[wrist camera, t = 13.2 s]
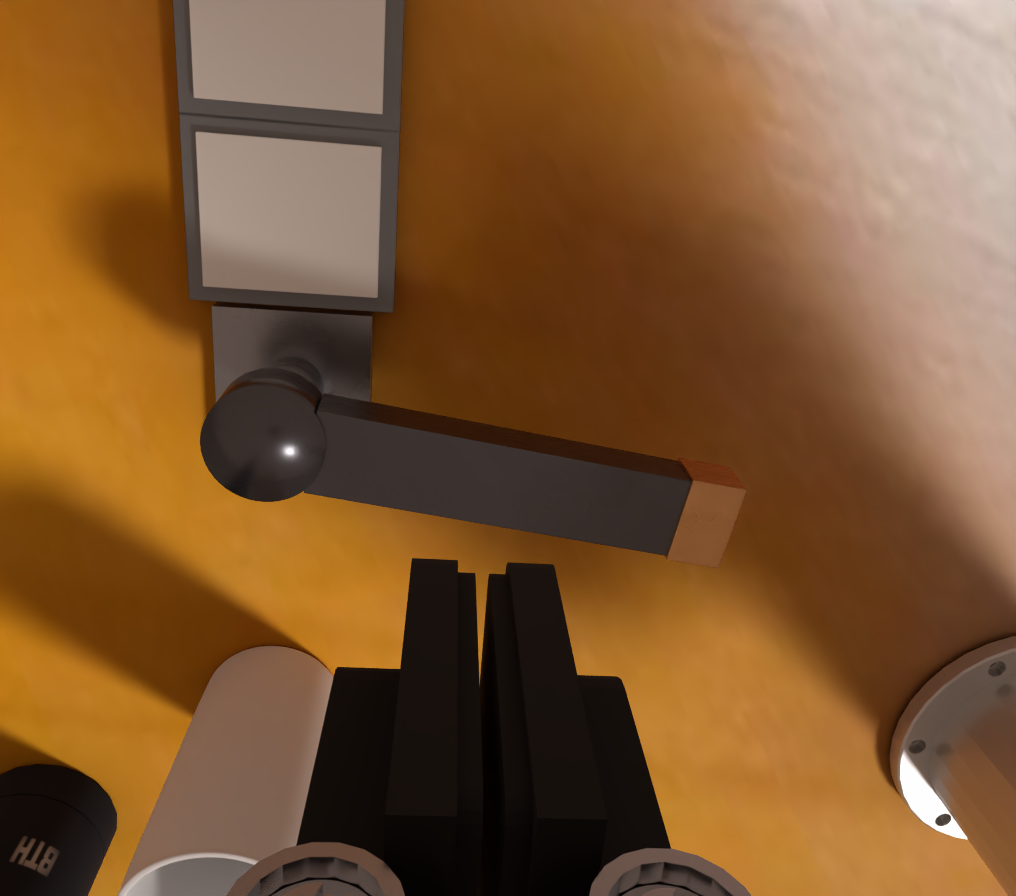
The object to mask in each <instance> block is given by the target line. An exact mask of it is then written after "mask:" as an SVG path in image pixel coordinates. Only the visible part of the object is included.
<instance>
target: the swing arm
mask: <svg viewBox="0 0 1016 896" xmlns="http://www.w3.org/2000/svg"><path fill="white" fill-rule="evenodd" d="M200 445H201V452H202V456H203V459H204V461H205V464H206V466H207V468H208V469H209V471H210V472H211V474H212V475H213V476H214V478H215V479H216V480H217V481H218V482H219V483H220V484H221V485H223V486H224V487H225V488H226V489H228V490H229V491H231V492H233V493H235V494H237V495H239V496H241V497H244V498H247V499H250V500H255V501H262V502H273V501H280V500H284V499H288V498H291V497H293V496H295V495H297V494H299V493H301V492H302V491H304V493H308V494H314V495H320V496H325V497H331V498H337V499H343V500H348V501H354V502H360V503H366V504H371V505H377V506H383V507H389V508H394V509H400V510H406V511H412V512H418V513H423V514H429V515H435V516H441V517H446V518H452V519H458V520H464V521H469V522H475V523H481V524H487V525H492V526H498V527H504V528H510V529H516V530H521V531H527V532H533V533H539V534H544V535H550V536H556V537H562V538H567V539H573V540H579V541H585V542H590V543H596V544H602V545H608V546H614V547H619V548H625V549H631V550H637V551H642V552H648V553H654V554H660V555H665V557H666V559H667V560H672V561H678V562H684V563H690V564H696V565H701V566H707V567H713V568H719V565H720V563H721V560H722V557H723V554H724V552H725V549H726V546H727V544H728V541H729V538H730V535H731V533H732V530H733V527H734V524H735V522H736V519H737V516H738V513H739V511H740V508H741V505H742V503H743V500H744V497H745V494H746V492H747V490H746V488H745V487H744V486H743V484H742V483H741V482H740V481H739V479H738V478H737V477H736V475H735V474H734V473H733V472H732V470H731V469H730V468H729V467H725V466H719V465H714V464H709V463H704V462H699V461H693V460H688V459H683V458H678V461H675V460H670V459H665V458H659V457H654V456H649V455H644V454H639V453H633V452H628V451H623V450H618V449H612V448H607V447H602V446H597V445H592V444H586V443H581V442H576V441H571V440H566V439H560V438H555V437H550V436H545V435H540V434H534V433H529V432H524V431H519V430H513V429H508V428H503V427H498V426H493V425H487V424H482V423H477V422H472V421H467V420H461V419H456V418H451V417H446V416H441V415H435V414H430V413H425V412H420V411H414V410H409V409H404V408H399V407H394V406H388V405H383V404H378V403H373V402H368V401H362V400H357V399H352V398H347V397H341V396H336V395H331V394H326V393H324V394H322V393H321V392H320V391H319V389H318V388H317V387H316V386H315V385H314V384H312V383H311V382H310V381H309V380H307V379H306V378H304V377H302V376H300V375H299V374H296V373H294V372H291V371H288V370H284V369H277V368H263V369H257V370H253V371H250V372H248V373H245V374H243V375H242V376H240V377H238V378H237V379H235V380H234V381H233V382H232V383H231V384H230V385H229V386H228V387H227V388H226V390H225V391H224V392H223V394H222V395H221V397H220V398H219V399H218V401H217V402H216V404H215V405H214V406H213V408H212V409H211V411H210V412H209V413H208V415H207V417H206V419H205V421H204V423H203V426H202V430H201V435H200Z"/></svg>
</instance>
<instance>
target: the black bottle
mask: <svg viewBox="0 0 1016 896" xmlns="http://www.w3.org/2000/svg"><path fill="white" fill-rule="evenodd" d="M116 828H117V813H116V810H115V808H114V805H113V803H112V801H111V798H110V797H109V796H108V795H107V794H106V792H105V791H104V790H103V789H102V788H101V787H100V786H99V785H98V784H97V783H95V782H94V781H92V780H91V779H89V778H87V777H86V776H84V775H83V774H81V773H79V772H75V771H72V770H69V769H66V768H63V767H60V766H50V765H38V764H37V765H31V766H25V767H18V768H15V769H13V770H11V771H8V772H6V773H4V774H2V775H0V896H88V894H89V891H90V889H91V887H92V884H93V882H94V880H95V878H96V875H97V873H98V871H99V868H100V866H101V864H102V862H103V859H104V857H105V855H106V852H107V850H108V848H109V846H110V843H111V841H112V839H113V836H114V834H115V832H116Z"/></svg>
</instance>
